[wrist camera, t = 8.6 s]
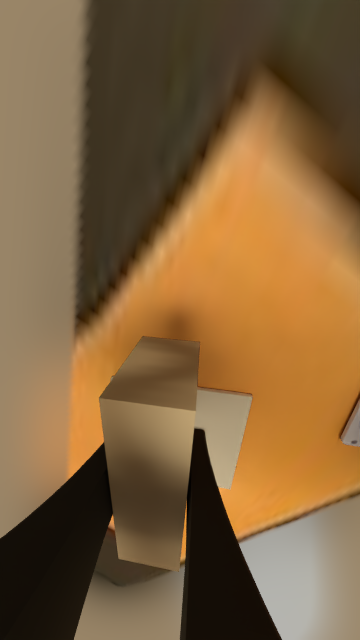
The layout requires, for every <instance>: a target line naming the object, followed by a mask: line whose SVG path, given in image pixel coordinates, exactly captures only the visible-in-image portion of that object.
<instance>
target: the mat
mask: <svg viewBox="0 0 360 640" xmlns="http://www.w3.org/2000/svg"><path fill="white" fill-rule="evenodd" d="M113 377H114V376H112V377H111V380H112V379H113ZM252 398H253V397H252V394H247V393H239V392H232V391H224V390H216V389H209V388H201V387H197V401H196V415H195V424H194V428H195V429H202V430H205V435H206V442H207V448H208V453H209V457H210V461H211V465H212V469H213V472H214V476H215V479H216V483H217V486H218V487H220V488H226V489H231V484H232V480H233V476H234V472H235V468H236V464H237V460H238V456H239V451H240V447H241V443H242V439H243V435H244V431H245V427H246V423H247V418H248V414H249V410H250V406H251V402H252Z"/></svg>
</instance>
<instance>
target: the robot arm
mask: <svg viewBox="0 0 360 640" xmlns="http://www.w3.org/2000/svg"><path fill="white" fill-rule="evenodd" d="M340 439H341V441H342V442H343V443H344V444H346V445H352V446H359V447H360V399H359V401H358V403H357V405H356V407H355V409H354V411H353V413H352V415H351V417H350V419H349V421H348V423H347V425H346V427H345V429H344V432H343V434H342V436H341V438H340ZM112 515H113V509H112V500H111V492H110V484H109V476H108V468H107V460H106V451H105V443H103V444H102V445H101V446H100V447H99V448H98V449H97V450H96V452H95V453H94V454H93V455H92V456H91V457H90V458H89V459H88V460H87V461H86V462H85V463H84V464H83V465H82V467H81V468H80V469H79V470H78V471H77V472H76V473H75V474H74V475H73V476H72V477H71V478H70V479H69V480H68V481H67V482H66V483H65V484H64V485H62V486H61V488H60V489H58V490H57V491H56V492H55V493H54V494H53V495H52V496H51V497H50V498H48V499H47V500H46V501H45V502H44V503H43V504H42V505H40V507H38V508H37V509H36V510H35V511H34V512H32V513H31V514H30V515H29V516H28V517H27V518H25V519H24V520H23V521H22V522H21V523H19V524H18V525H17V526H16V527H14V528H13V529H12V530H11V531H9V532H8V533H7V534H6V535H5V536H3V537H2V538H0V640H74V636H75V633H76V629H77V626H78V622H79V619H80V615H81V612H82V608H83V605H84V602H85V598H86V595H87V592H88V588H89V585H90V582H91V579H92V575H93V572H94V569H95V565H96V562H97V559H98V556H99V553H100V549H101V546H102V543H103V540H104V537H105V534H106V531H107V528H108V525H109V523H110V520H111V518H112ZM184 575H185V576H184V588H183V603H182V617H181V631H180V640H282V639H281V637H280V635H279V633H278V631H277V628H276V626H275V624H274V622H273V620H272V618H271V616H270V614H269V612H268V610H267V607H266V605H265V603H264V601H263V599H262V597H261V594H260V592H259V590H258V588H257V586H256V583H255V581H254V579H253V577H252V574H251V572H250V570H249V567H248V565H247V563H246V561H245V558H244V556H243V554H242V551H241V549H240V546H239V544H238V541H237V539H236V536H235V534H234V531H233V529H232V526H231V523H230V521H229V518H228V515H227V513H226V510H225V507H224V504H223V501H222V498H221V495H220V492H219V489H218V486H217V483H216V479H215V476H214V472H213V469H212V465H211V461H210V457H209V453H208V448H207V442H206V435H205V431H204V430H202V429H195V428H194V434H193V443H192V453H191V462H190V472H189V481H188V491H187V525H186V559H185V574H184Z"/></svg>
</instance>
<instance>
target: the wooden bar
mask: <svg viewBox="0 0 360 640" xmlns="http://www.w3.org/2000/svg"><path fill="white" fill-rule="evenodd" d="M199 350H200V342H195V341H185V340H175V339H165V338H156V337H146V336H143V337H142V338H141V339H140V341H139V342H138V344H137V345H136V346H135V348H134V349H133V351H132V352H131V353H130V355H129V356H128V358H127V359H126V361H125V362H124V363H123V365H122V366H121V368H120V369H119V370H118V372H117V373H116V375H115V376H114V377H113V379H112V380H111V382H110V383H109V385H108V386H107V387H106V389H105V390H104V392H103V393H102V394H101V396H100V397H99V403H100V411H101V419H102V427H103V435H104V443H105V451H106V460H107V468H108V476H109V484H110V492H111V500H112V509H113V517H114V525H115V533H116V541H117V549H118V557H119V559H123V560H128V561H132V562H137V563H141V564H146V565H150V566H155V567H160V568H164V569H169V570H173V571H178V572H179V567H180V557H181V548H182V538H183V529H184V519H185V510H186V500H187V491H188V481H189V472H190V462H191V453H192V443H193V434H194V424H195V415H196V401H197V384H198V367H199Z"/></svg>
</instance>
